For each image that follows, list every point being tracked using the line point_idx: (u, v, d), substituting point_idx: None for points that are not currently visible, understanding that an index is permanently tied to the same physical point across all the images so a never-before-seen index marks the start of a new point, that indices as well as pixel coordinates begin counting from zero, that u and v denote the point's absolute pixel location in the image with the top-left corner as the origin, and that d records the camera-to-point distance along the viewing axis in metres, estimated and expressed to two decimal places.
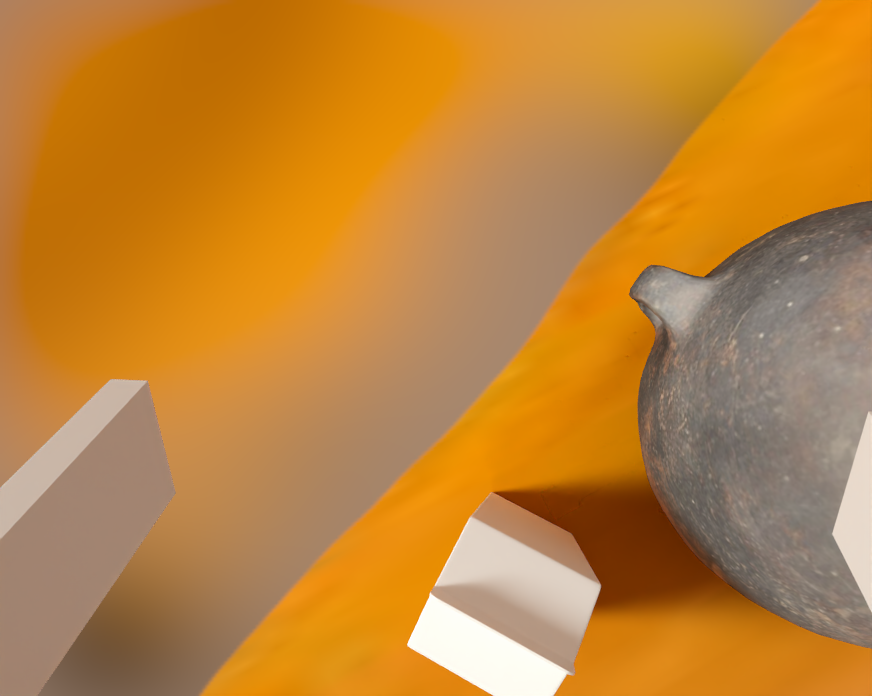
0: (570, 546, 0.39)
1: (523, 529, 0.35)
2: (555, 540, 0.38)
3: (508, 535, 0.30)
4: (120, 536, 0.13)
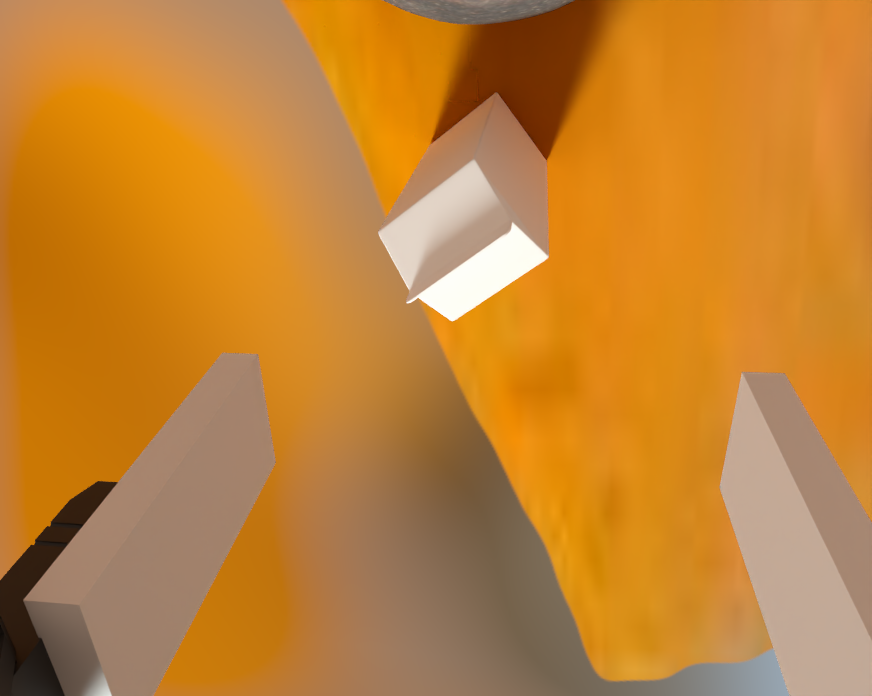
0: (476, 127, 0.41)
1: (429, 174, 0.39)
2: (461, 141, 0.41)
3: (404, 211, 0.35)
4: (238, 499, 0.14)
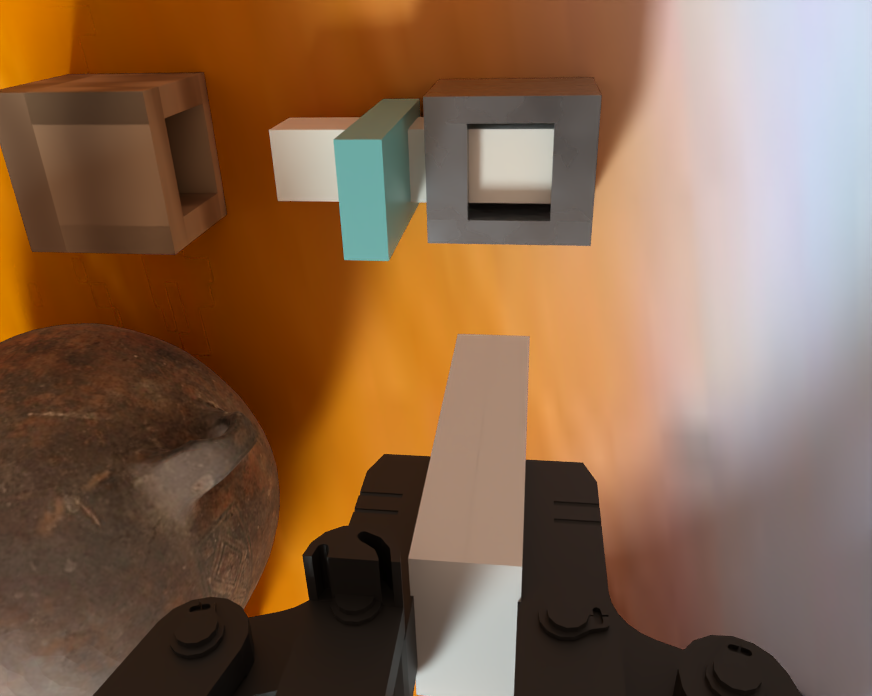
0: None
1: None
2: None
3: None
4: None
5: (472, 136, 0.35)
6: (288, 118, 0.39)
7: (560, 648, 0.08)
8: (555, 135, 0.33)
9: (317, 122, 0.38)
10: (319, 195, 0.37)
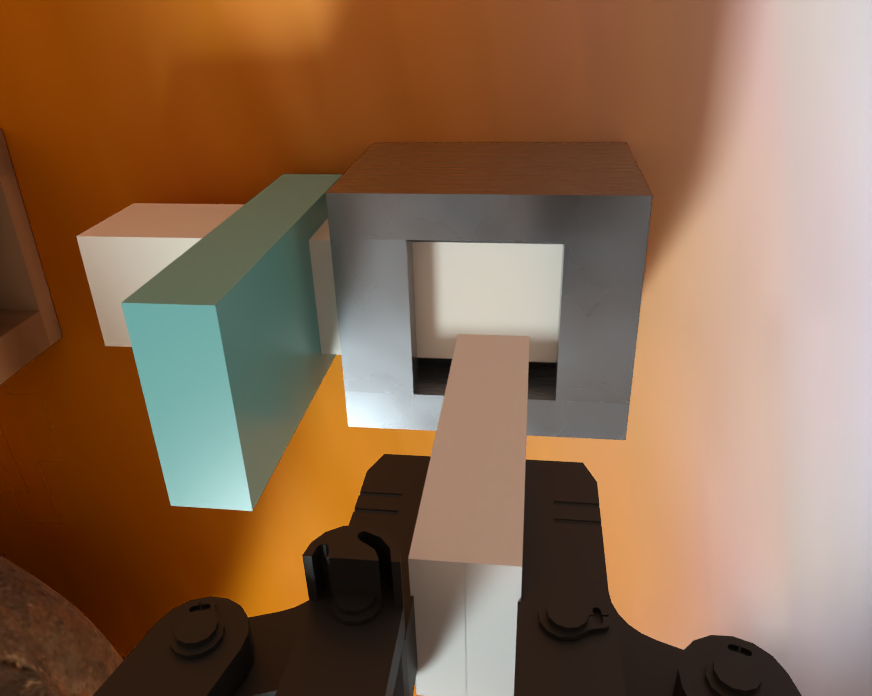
0: None
1: None
2: None
3: None
4: None
5: (419, 253, 0.20)
6: (130, 205, 0.24)
7: (560, 648, 0.08)
8: (565, 263, 0.18)
9: (169, 217, 0.23)
10: None
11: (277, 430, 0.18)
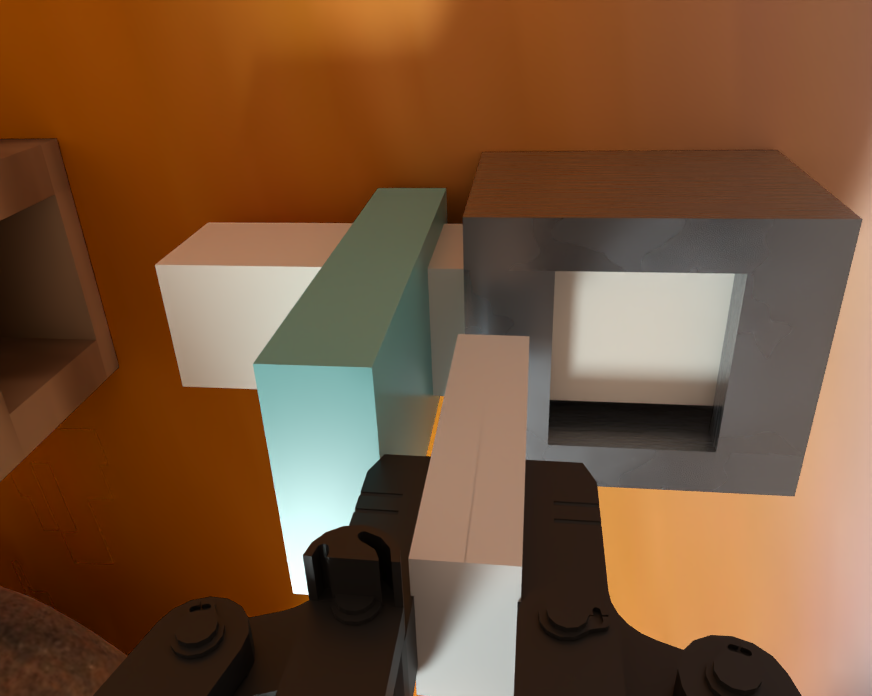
0: None
1: None
2: None
3: None
4: None
5: (558, 284, 0.17)
6: (205, 225, 0.21)
7: (560, 648, 0.08)
8: (746, 297, 0.16)
9: (254, 239, 0.20)
10: None
11: None
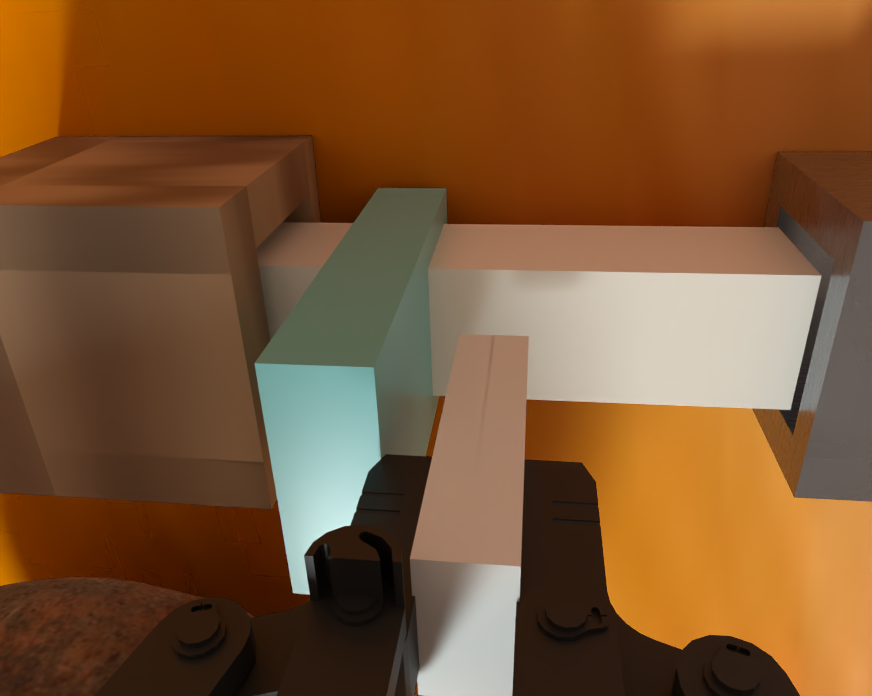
0: None
1: None
2: None
3: None
4: None
5: (558, 284, 0.17)
6: None
7: (559, 648, 0.08)
8: None
9: None
10: None
11: None
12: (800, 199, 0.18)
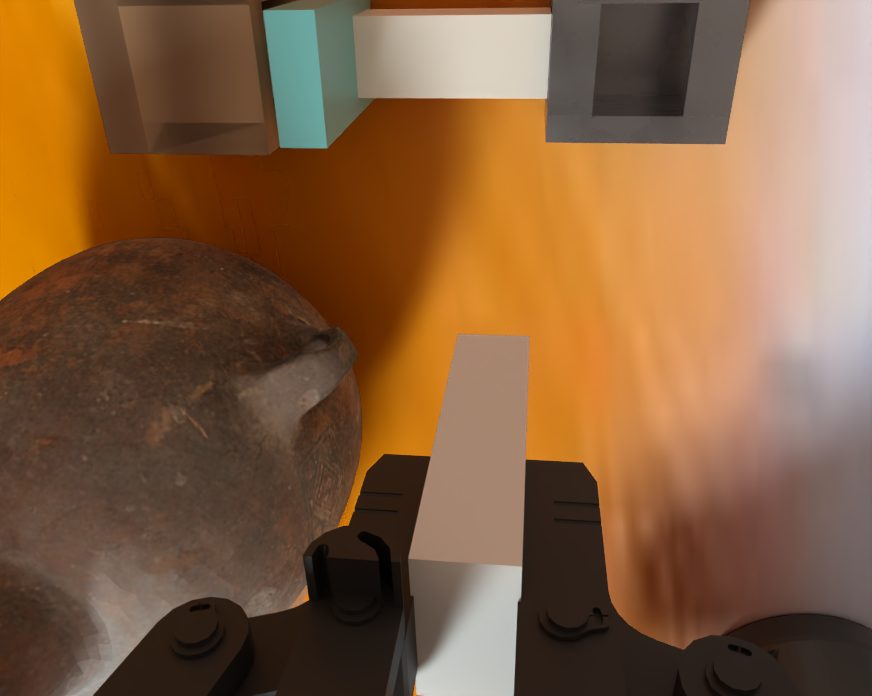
0: None
1: None
2: None
3: None
4: None
5: (420, 23, 0.33)
6: None
7: (560, 648, 0.08)
8: (699, 16, 0.31)
9: None
10: None
11: (337, 116, 0.32)
12: None
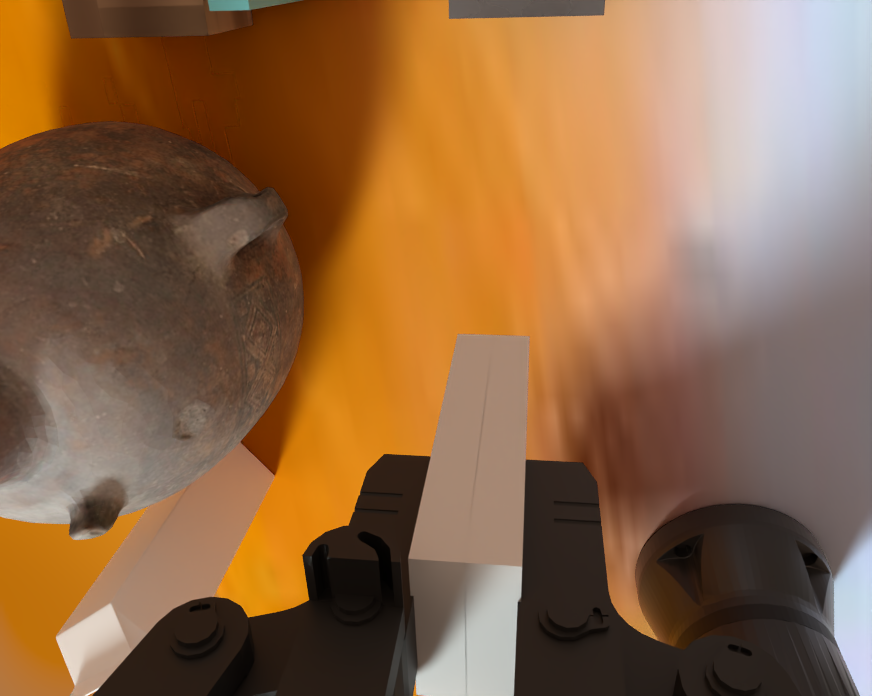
0: (169, 508, 0.53)
1: (119, 562, 0.50)
2: (154, 523, 0.52)
3: (71, 626, 0.46)
4: None
5: None
6: None
7: (560, 648, 0.08)
8: None
9: None
10: None
11: None
12: None
